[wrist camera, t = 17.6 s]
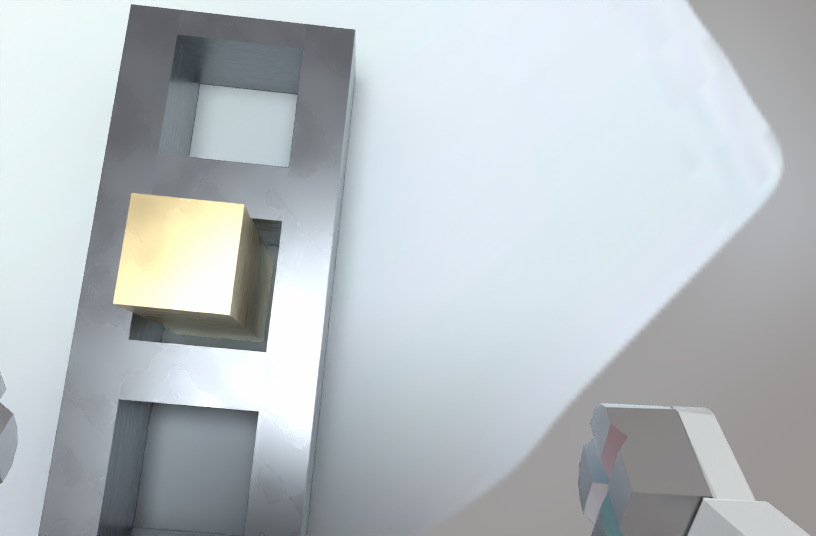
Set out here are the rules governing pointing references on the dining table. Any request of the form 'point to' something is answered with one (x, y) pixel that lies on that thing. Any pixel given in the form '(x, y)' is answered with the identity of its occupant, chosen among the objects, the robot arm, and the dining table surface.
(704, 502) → the robot arm
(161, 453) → the dining table surface
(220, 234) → the brass peg
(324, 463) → the dining table surface
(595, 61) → the dining table surface
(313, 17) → the dining table surface
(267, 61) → the grey rectangular block
